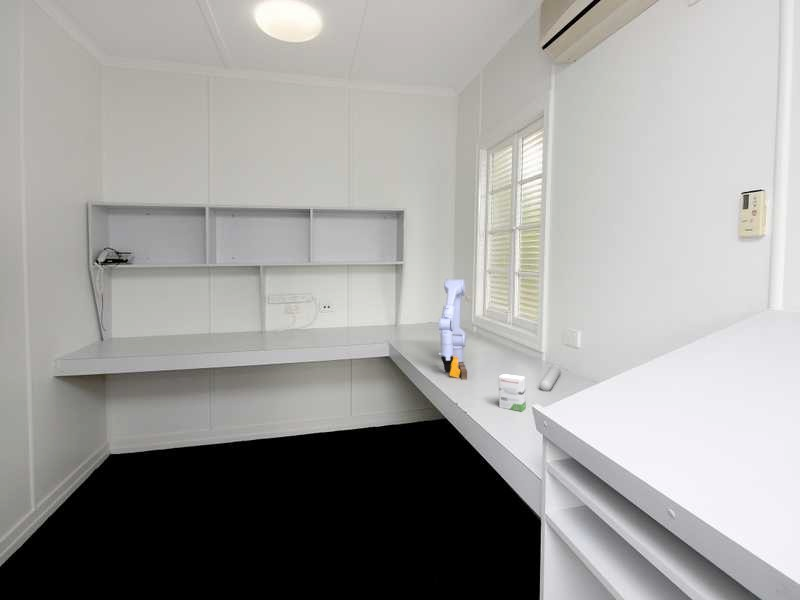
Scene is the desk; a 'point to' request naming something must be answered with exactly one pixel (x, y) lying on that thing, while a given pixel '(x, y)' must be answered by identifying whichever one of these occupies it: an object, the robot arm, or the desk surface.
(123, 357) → the desk surface
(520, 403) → the ink box
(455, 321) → the robot arm
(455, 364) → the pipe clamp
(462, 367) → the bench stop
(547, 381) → the tube
